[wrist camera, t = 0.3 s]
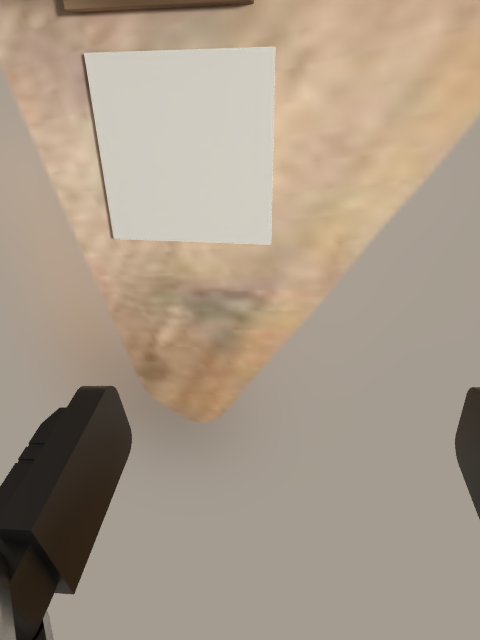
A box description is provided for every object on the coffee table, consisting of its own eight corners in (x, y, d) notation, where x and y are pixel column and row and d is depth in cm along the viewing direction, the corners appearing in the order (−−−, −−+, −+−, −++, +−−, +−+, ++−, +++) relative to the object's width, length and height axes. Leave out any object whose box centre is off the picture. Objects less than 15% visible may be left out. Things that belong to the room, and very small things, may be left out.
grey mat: (86, 53, 31) (83, 53, 31) (275, 47, 29) (274, 46, 29) (115, 237, 38) (113, 238, 37) (271, 243, 36) (270, 244, 35)
